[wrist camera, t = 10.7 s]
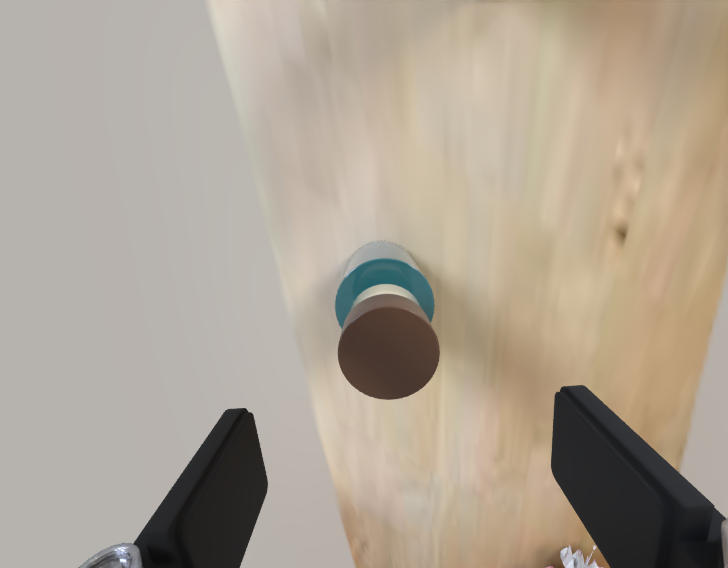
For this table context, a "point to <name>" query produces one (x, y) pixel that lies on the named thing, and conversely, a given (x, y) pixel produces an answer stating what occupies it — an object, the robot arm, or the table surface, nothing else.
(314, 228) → the table surface
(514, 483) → the table surface
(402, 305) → the brown round puck
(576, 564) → the flower
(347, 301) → the bottle
